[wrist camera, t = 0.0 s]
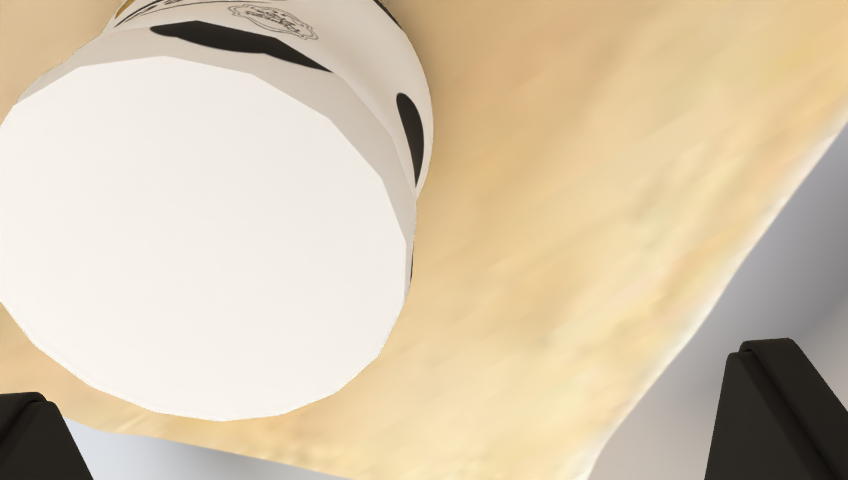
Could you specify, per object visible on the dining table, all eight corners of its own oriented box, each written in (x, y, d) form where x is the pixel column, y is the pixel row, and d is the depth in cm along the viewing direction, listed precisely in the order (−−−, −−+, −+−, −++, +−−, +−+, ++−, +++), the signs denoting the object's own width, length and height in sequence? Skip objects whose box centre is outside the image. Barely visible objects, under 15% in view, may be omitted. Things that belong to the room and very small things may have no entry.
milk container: (189, -134, 33) (-8, -108, 18) (488, 41, 38) (538, 182, 22) (92, 151, 41) (-105, 343, 25) (350, 268, 45) (315, 491, 30)
